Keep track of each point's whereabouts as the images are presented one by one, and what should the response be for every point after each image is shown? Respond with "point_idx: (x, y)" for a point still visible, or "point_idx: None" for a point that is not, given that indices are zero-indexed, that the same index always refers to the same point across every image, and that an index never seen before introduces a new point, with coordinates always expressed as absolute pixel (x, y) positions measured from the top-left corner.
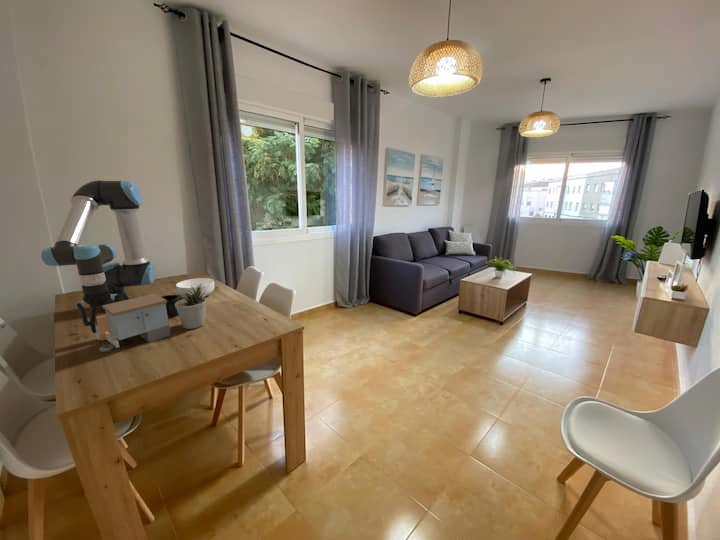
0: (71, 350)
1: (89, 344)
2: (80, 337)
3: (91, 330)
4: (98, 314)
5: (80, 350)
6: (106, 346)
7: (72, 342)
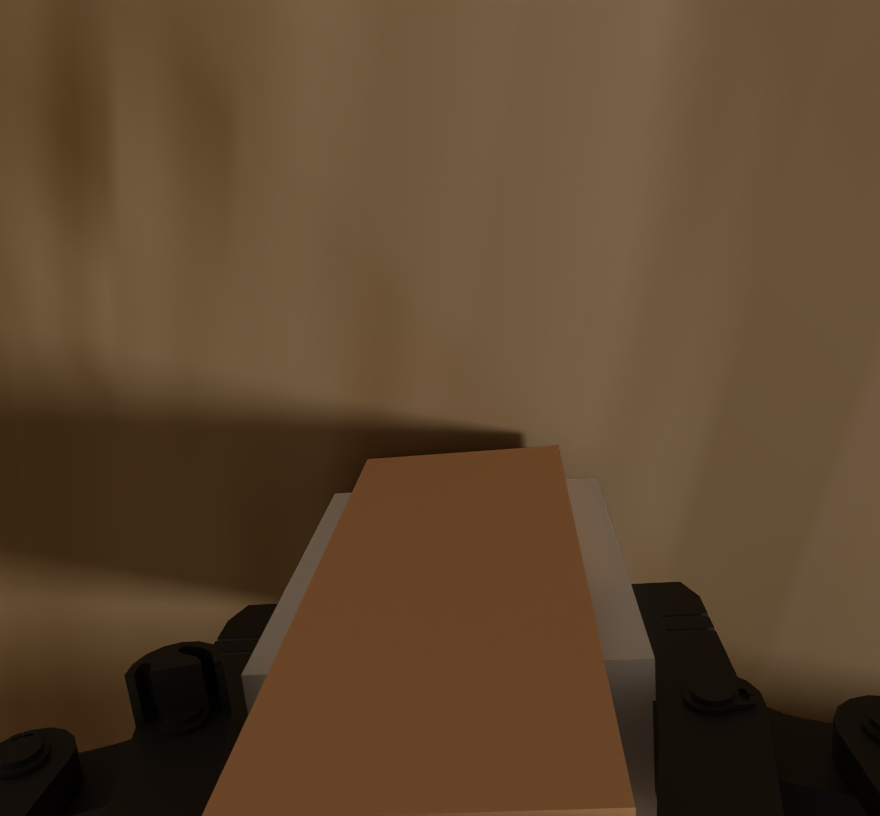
0: (12, 596)
1: (230, 562)
2: (113, 73)
3: (221, 644)
4: (365, 812)
5: (118, 692)
6: None
7: (3, 246)
